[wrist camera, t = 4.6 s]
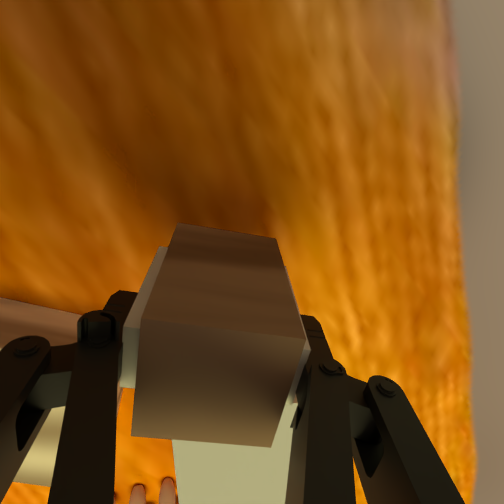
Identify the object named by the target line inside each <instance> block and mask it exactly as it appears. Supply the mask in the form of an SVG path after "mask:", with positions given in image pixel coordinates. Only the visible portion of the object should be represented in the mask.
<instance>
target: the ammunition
mask: <svg viewBox="0 0 504 504" xmlns="http://www.w3.org/2000/svg"><path fill="white" fill-rule="evenodd" d="M114 504H116V502H115V497H114ZM129 504H146V496H145V490H144V487H143V485H136V486H134V488H133V490H132V493H131V496H130V501H129ZM159 504H176V494H175V487H174V483H173V481H172V479H171V478H169V477H167V478H165V479H164V481H163V483H162V486H161V489H160V494H159Z"/></svg>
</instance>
